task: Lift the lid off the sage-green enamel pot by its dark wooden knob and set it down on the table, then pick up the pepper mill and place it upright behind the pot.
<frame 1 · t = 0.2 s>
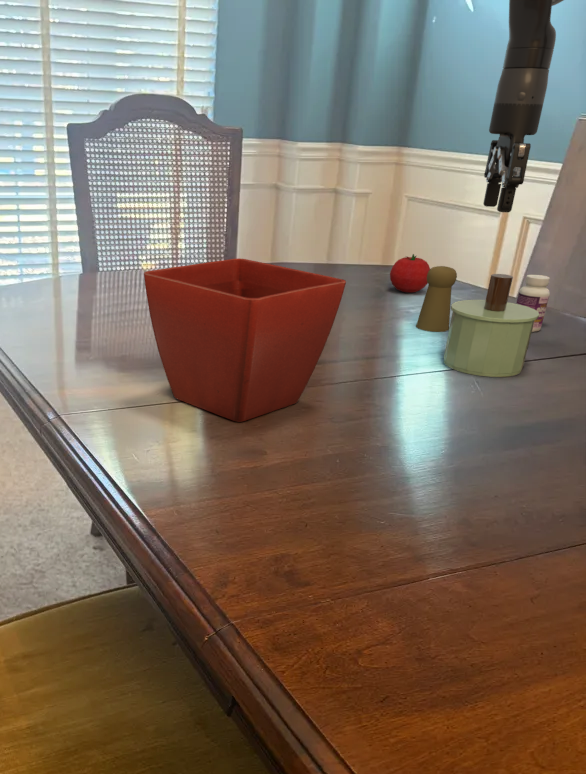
hand: (496, 209, 133), 21 cm above the table, tool pointing down, fingers open, 8 cm apart
flower pot: (236, 402, 107), on the table
pot lid: (493, 312, 120), point 8 cm above the table, touching pot
pot: (482, 365, 125), on the table
pepper mill: (432, 328, 145), on the table
tomato: (407, 292, 173), on the table
pill bottle: (525, 330, 146), on the table
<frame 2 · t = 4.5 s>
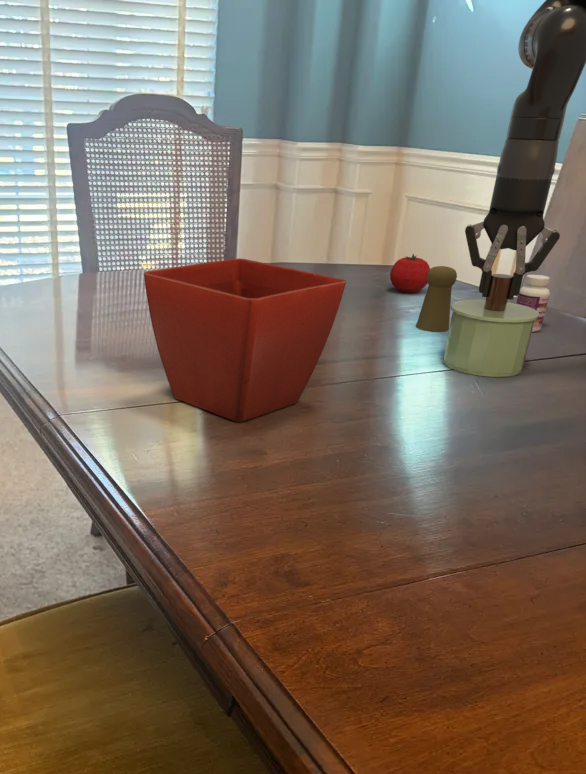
hand: (497, 296, 119), 11 cm above the table, tool pointing down, fingers closed on pot lid, 3 cm apart
pot lid: (493, 312, 120), point 9 cm above the table, touching gripper, pot
everything else where it was.
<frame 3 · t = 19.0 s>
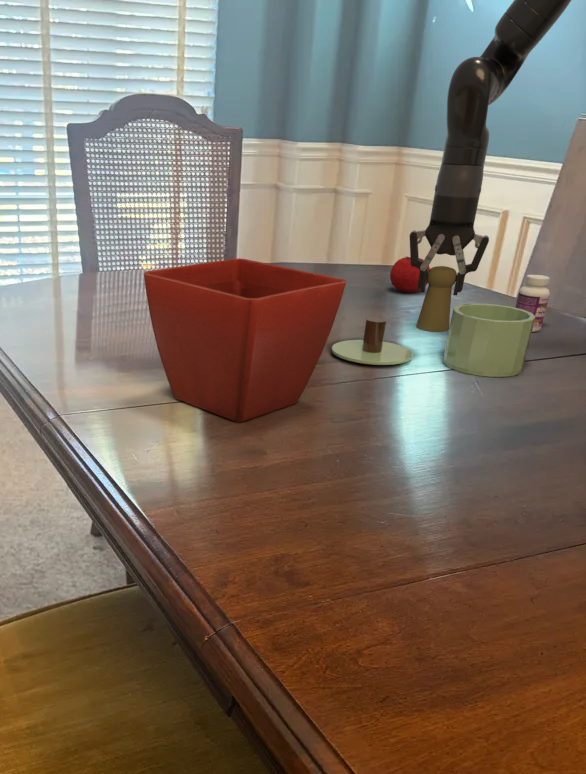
hand: (438, 292, 142), 6 cm above the table, tool pointing down, fingers closed on pepper mill, 5 cm apart
pot lid: (371, 353, 127), point 1 cm above the table
pepper mill: (432, 328, 145), on the table, touching gripper
everything else where it was.
when the fingers open (6 cm above the table, at t = 26.6 s): pepper mill stays where it is, on the table.
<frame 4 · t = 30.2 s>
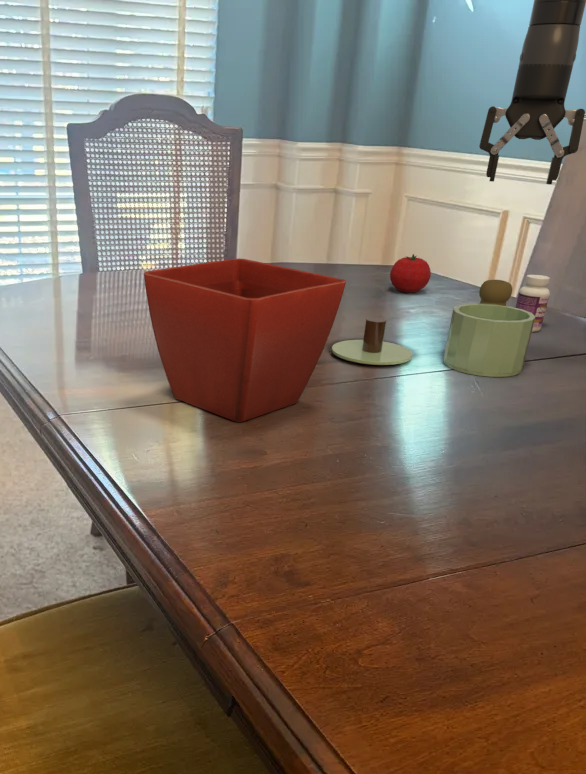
hand: (519, 182, 122), 26 cm above the table, tool pointing down, fingers open, 8 cm apart
pepper mill: (483, 346, 135), on the table
everything else where it was.
at the end: pot lid inside the target area on the table beside the pot (0.0 cm from its centre), point 0.6 cm above the table; pepper mill inside the target area on the table beside the pot (0.2 cm from its centre), on the table; pepper mill tilted 0° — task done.
